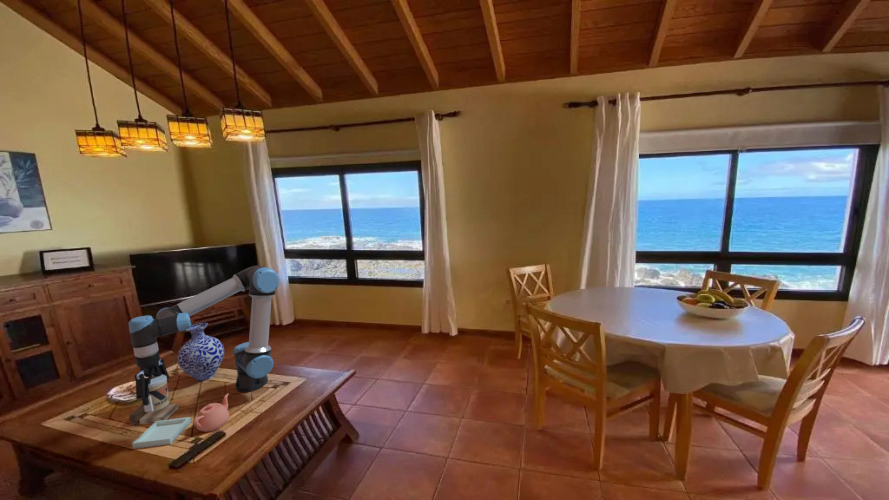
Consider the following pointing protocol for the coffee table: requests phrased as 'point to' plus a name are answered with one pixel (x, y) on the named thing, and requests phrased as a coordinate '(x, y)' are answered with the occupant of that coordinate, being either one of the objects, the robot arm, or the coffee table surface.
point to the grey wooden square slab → (159, 414)
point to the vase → (200, 354)
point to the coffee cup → (158, 392)
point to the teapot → (212, 416)
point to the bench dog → (137, 415)
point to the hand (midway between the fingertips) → (157, 404)
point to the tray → (162, 433)
